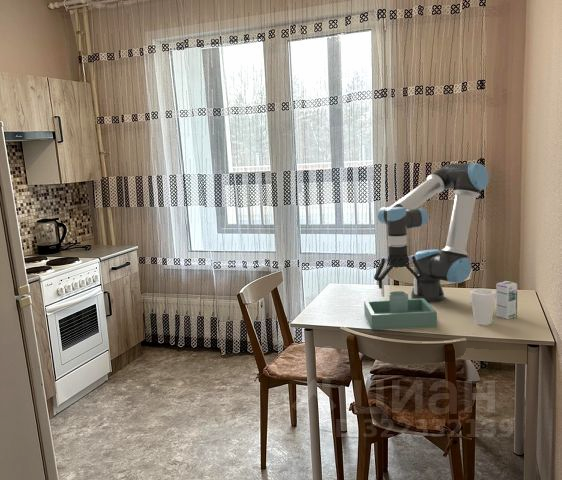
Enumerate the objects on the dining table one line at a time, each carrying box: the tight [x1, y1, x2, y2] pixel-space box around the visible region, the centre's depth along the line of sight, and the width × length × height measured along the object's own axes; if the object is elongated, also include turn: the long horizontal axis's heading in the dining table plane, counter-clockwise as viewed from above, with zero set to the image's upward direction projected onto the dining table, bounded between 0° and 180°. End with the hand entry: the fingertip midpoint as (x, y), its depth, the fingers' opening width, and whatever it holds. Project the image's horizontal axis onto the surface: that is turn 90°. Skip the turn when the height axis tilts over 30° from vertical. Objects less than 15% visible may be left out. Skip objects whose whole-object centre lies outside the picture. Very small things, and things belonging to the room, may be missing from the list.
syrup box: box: [495, 280, 518, 320], centre depth 208 cm, size 6×6×14 cm
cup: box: [388, 290, 409, 313], centre depth 211 cm, size 8×8×10 cm
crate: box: [363, 298, 438, 330], centre depth 212 cm, size 26×20×6 cm
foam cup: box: [469, 288, 497, 326], centre depth 202 cm, size 10×9×13 cm
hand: (399, 294), depth 211 cm, fingers open, 13 cm apart
